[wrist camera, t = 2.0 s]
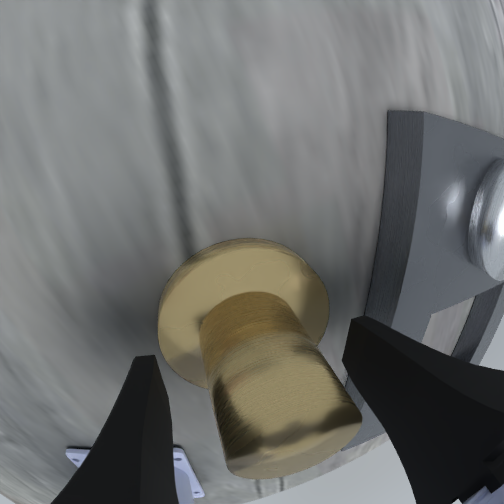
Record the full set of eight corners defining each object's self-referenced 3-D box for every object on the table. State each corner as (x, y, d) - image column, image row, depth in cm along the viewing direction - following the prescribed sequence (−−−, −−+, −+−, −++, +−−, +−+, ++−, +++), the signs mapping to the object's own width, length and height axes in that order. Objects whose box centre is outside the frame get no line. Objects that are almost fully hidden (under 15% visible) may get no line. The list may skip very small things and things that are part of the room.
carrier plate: (455, 371, 21) (477, 392, 18) (330, 431, 18) (350, 467, 14) (520, 150, 13) (557, 162, 10) (388, 110, 10) (456, 114, 6)
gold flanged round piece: (308, 356, 14) (370, 457, 8) (174, 381, 12) (191, 506, 7) (322, 229, 11) (441, 321, 5) (143, 249, 9) (123, 396, 4)
